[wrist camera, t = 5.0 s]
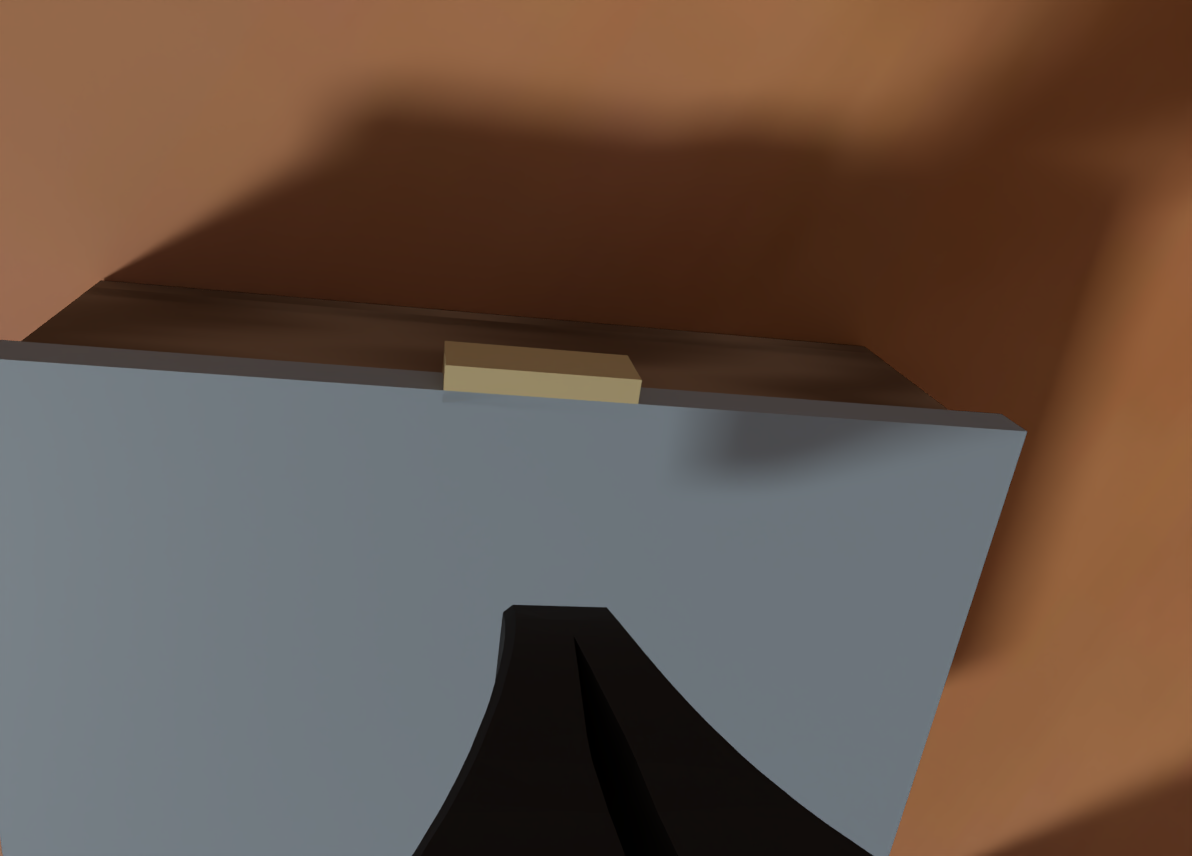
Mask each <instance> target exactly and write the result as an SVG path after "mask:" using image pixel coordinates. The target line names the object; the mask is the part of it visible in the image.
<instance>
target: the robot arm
mask: <svg viewBox="0 0 1192 856" xmlns="http://www.w3.org/2000/svg"><path fill="white" fill-rule="evenodd" d="M412 856H873V855H872V854H870V853H869V852H867V851H866V850H864V849H863V848H862V847H860V846H859V845H857V844H856V843H854V842H853V841H851V840H850V839H848V838H847V837H845V836H844V835H843V834H841V833H840V832H838V831H837V830H835V829H834V828H832V827H831V826H829V825H828V824H826V823H825V822H824V821H822V820H821V819H820V818H818V817H817V816H816V815H814V814H813V813H812V812H810V811H809V810H808V809H806V808H805V807H804V806H802V805H801V804H800V803H798V802H797V801H796V800H795V799H793V798H792V797H791V796H790V795H789V794H787V793H786V792H785V791H784V790H782V789H781V788H780V787H779V786H777V785H776V784H775V783H774V782H773V781H771V780H770V779H769V778H768V777H766V776H765V775H764V774H763V773H761V772H760V771H759V770H758V769H757V768H756V767H755V766H753V765H752V764H751V763H750V762H749V761H748V760H747V759H745V758H744V757H743V756H742V755H741V754H740V753H739V752H738V751H737V750H736V749H735V748H734V747H733V746H732V745H731V744H729V743H728V742H727V741H726V740H725V739H724V738H723V737H722V736H721V735H720V734H719V733H718V732H717V731H716V730H715V729H714V728H713V727H712V726H711V725H710V724H709V723H708V722H707V721H706V720H705V719H704V718H703V717H702V716H701V715H700V714H699V713H698V712H697V711H696V710H695V709H694V708H693V707H692V706H691V705H690V704H689V703H688V701H687V700H686V699H685V698H684V697H683V696H682V695H681V694H680V693H679V692H678V690H677V689H676V688H675V687H674V686H673V685H672V684H671V683H670V682H669V681H668V679H667V678H666V677H665V676H664V675H663V674H662V673H661V671H660V670H659V669H658V668H657V667H656V666H655V664H654V663H653V662H652V661H651V660H650V658H649V657H648V656H647V655H646V654H645V652H644V651H643V650H642V649H641V648H640V646H639V645H638V644H637V643H636V642H635V640H634V639H633V638H632V637H631V636H630V634H629V633H628V632H627V631H626V630H625V628H624V627H623V626H622V625H621V624H620V622H619V621H618V620H617V619H616V618H615V616H614V615H613V614H612V613H611V612H610V611H609V609H608V608H607V607H577V606H542V605H512V606H510V607H509V608H508V609H506V610H505V611H504V612H503V616H502V625H501V633H500V642H499V651H498V660H497V669H496V678H495V684H494V687H493V691H492V694H491V697H490V701H489V704H488V706H487V709H486V712H485V714H484V717H483V719H482V722H481V724H480V727H479V729H478V732H477V734H476V737H475V739H474V741H473V744H472V746H471V749H470V751H469V753H468V756H467V758H466V760H465V762H464V764H463V766H462V768H461V770H460V773H459V775H458V777H457V779H456V781H455V783H454V784H453V786H452V788H451V790H450V792H449V794H448V796H447V798H446V799H445V801H444V803H443V805H442V807H441V809H440V810H439V812H438V814H437V815H436V817H435V819H434V820H433V822H432V824H431V825H430V827H429V829H428V830H427V832H426V834H425V835H424V837H423V839H422V840H421V842H420V844H419V845H418V847H417V848H416V850H415V852H414V853H413V855H412Z"/></svg>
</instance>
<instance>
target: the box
mask: <svg viewBox="0 0 1192 856" xmlns="http://www.w3.org/2000/svg"><path fill="white" fill-rule="evenodd" d="M445 341H454V342H467V343H479V344H491V345H504V346H516V347H529V348H541V349H554V350H566V351H578V352H591V353H603V354H616V355H628V357H629V359H630V360H631V362H632V364H633V366H634V367H635V369H636V371H637V372H638V374H639V376H640V377H641V379H642V383H641V387H644V388H657V389H671V390H684V391H698V392H711V393H725V394H738V395H752V396H765V397H779V398H792V399H806V400H819V401H833V402H846V403H860V404H873V405H887V406H900V407H914V408H927V409H941V410H948V409H947V408H945V407H944V406H943V405H941V404H940V403H939V402H937V401H936V400H935V399H933V398H932V397H931V396H929V395H928V394H927V393H925V392H924V391H923V390H921V389H920V388H919V387H917V386H916V385H915V384H913V383H912V382H911V381H909V380H908V379H907V378H905V377H904V376H903V375H901V374H900V373H899V372H897V371H896V370H895V369H894V368H892V367H891V366H890V365H888V364H887V363H886V362H884V361H883V360H882V359H880V358H879V357H878V356H876V355H875V354H874V353H872V352H871V351H870V350H868V349H867V348H866V347H863V346H852V345H840V344H829V343H817V342H806V341H794V340H783V339H771V338H760V337H748V336H737V335H725V334H713V333H702V332H690V331H679V330H667V329H656V328H644V327H633V326H621V325H610V324H598V323H587V322H575V321H563V320H552V319H540V318H529V317H517V316H506V315H494V314H483V313H471V312H460V311H448V310H436V309H425V308H413V307H402V306H390V305H379V304H367V303H356V302H344V301H333V300H321V299H310V298H298V297H286V296H275V295H263V294H252V293H240V292H229V291H217V290H206V289H194V288H183V287H171V286H160V285H148V284H136V283H125V282H113V281H102V280H101V281H99V282H98V283H97V284H95V285H94V286H93V287H92V288H90V289H89V290H88V291H86V292H85V293H84V294H82V295H81V296H80V297H78V298H77V299H76V300H75V301H73V302H72V303H71V304H69V305H68V306H67V307H65V308H64V309H63V310H61V311H60V312H59V313H58V314H56V315H55V316H54V317H52V318H51V319H50V320H48V321H47V322H46V323H44V324H43V325H42V326H40V327H39V328H38V329H37V330H35V331H34V332H33V333H31V334H30V335H29V336H27V337H26V338H25V339H23V340H22V342H35V343H49V344H62V345H76V346H89V347H103V348H116V349H130V350H143V351H157V352H170V353H184V354H197V355H211V356H224V357H238V358H251V359H265V360H279V361H292V362H306V363H319V364H333V365H346V366H360V367H373V368H387V369H400V370H414V371H427V372H441V373H442V370H443V357H444V344H445Z"/></svg>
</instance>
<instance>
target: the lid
mask: <svg viewBox="0 0 1192 856" xmlns="http://www.w3.org/2000/svg"><path fill="white" fill-rule="evenodd" d="M641 383H642V379H641V377H640V376H639V374H638V372H637V371H636V369H635V367H634V366H633V364H632V362H631V360H630V359H629V357H628V355H616V354H603V353H591V352H578V351H566V350H554V349H541V348H529V347H516V346H504V345H491V344H479V343H467V342H454V341H445V344H444V357H443V370H442V373H441V372H427V371H414V370H400V369H387V368H373V367H360V366H346V365H333V364H319V363H306V362H292V361H279V360H265V359H251V358H238V357H224V356H211V355H197V354H184V353H170V352H157V351H143V350H130V349H116V348H103V347H89V346H76V345H62V344H49V343H35V342H22V341H8V340H0V838H1V846H2V853H3V856H412V855H413V853H414V852H415V850H416V848H417V847H418V845H419V844H420V842H421V840H422V839H423V837H424V835H425V834H426V832H427V830H428V829H429V827H430V825H431V824H432V822H433V820H434V819H435V817H436V815H437V814H438V812H439V810H440V809H441V807H442V805H443V803H444V801H445V799H446V798H447V796H448V794H449V792H450V790H451V788H452V786H453V784H454V783H455V781H456V779H457V777H458V775H459V773H460V770H461V768H462V766H463V764H464V762H465V760H466V758H467V756H468V753H469V751H470V749H471V746H472V744H473V741H474V739H475V737H476V734H477V732H478V729H479V727H480V724H481V722H482V719H483V717H484V714H485V712H486V709H487V706H488V704H489V701H490V697H491V694H492V691H493V687H494V684H495V678H496V669H497V660H498V651H499V642H500V633H501V625H502V616H503V612H504V611H505V610H506V609H508V608H509V607H510V606H512V605H542V606H577V607H607V608H608V609H609V611H610V612H611V613H612V614H613V615H614V616H615V618H616V619H617V620H618V621H619V622H620V624H621V625H622V626H623V627H624V628H625V630H626V631H627V632H628V633H629V634H630V636H631V637H632V638H633V639H634V640H635V642H636V643H637V644H638V645H639V646H640V648H641V649H642V650H643V651H644V652H645V654H646V655H647V656H648V657H649V658H650V660H651V661H652V662H653V663H654V664H655V666H656V667H657V668H658V669H659V670H660V671H661V673H662V674H663V675H664V676H665V677H666V678H667V679H668V681H669V682H670V683H671V684H672V685H673V686H674V687H675V688H676V689H677V690H678V692H679V693H680V694H681V695H682V696H683V697H684V698H685V699H686V700H687V701H688V703H689V704H690V705H691V706H692V707H693V708H694V709H695V710H696V711H697V712H698V713H699V714H700V715H701V716H702V717H703V718H704V719H705V720H706V721H707V722H708V723H709V724H710V725H711V726H712V727H713V728H714V729H715V730H716V731H717V732H718V733H719V734H720V735H721V736H722V737H723V738H724V739H725V740H726V741H727V742H728V743H729V744H731V745H732V746H733V747H734V748H735V749H736V750H737V751H738V752H739V753H740V754H741V755H742V756H743V757H744V758H745V759H747V760H748V761H749V762H750V763H751V764H752V765H753V766H755V767H756V768H757V769H758V770H759V771H760V772H761V773H763V774H764V775H765V776H766V777H768V778H769V779H770V780H771V781H773V782H774V783H775V784H776V785H777V786H779V787H780V788H781V789H782V790H784V791H785V792H786V793H787V794H789V795H790V796H791V797H792V798H793V799H795V800H796V801H797V802H798V803H800V804H801V805H802V806H804V807H805V808H806V809H808V810H809V811H810V812H812V813H813V814H814V815H816V816H817V817H818V818H820V819H821V820H822V821H824V822H825V823H826V824H828V825H829V826H831V827H832V828H834V829H835V830H837V831H838V832H840V833H841V834H843V835H844V836H845V837H847V838H848V839H850V840H851V841H853V842H854V843H856V844H857V845H859V846H860V847H862V848H863V849H864V850H866V851H867V852H869V853H870V854H872V855H873V856H889V854H890V851H891V847H892V844H893V841H894V838H895V835H896V832H897V829H898V826H899V823H900V820H901V817H902V814H903V811H904V808H905V805H906V801H907V798H908V795H909V792H910V789H911V786H912V783H913V780H914V777H915V774H916V771H917V768H918V765H919V762H920V759H921V756H922V752H923V749H924V746H925V743H926V740H927V737H928V734H929V731H930V728H931V725H932V722H933V719H934V716H935V713H936V710H937V706H938V703H939V700H940V697H941V694H942V691H943V688H944V685H945V682H946V679H947V676H948V673H949V670H950V667H951V664H952V661H953V657H954V654H955V651H956V648H957V645H958V642H959V639H960V636H961V633H962V630H963V627H964V624H965V621H966V618H967V615H968V611H969V608H970V605H971V602H972V599H973V596H974V593H975V590H976V587H977V584H978V581H979V578H980V575H981V572H982V569H983V566H984V562H985V559H986V556H987V553H988V550H989V547H990V544H991V541H992V538H993V535H994V532H995V529H996V526H997V523H998V520H999V516H1000V513H1001V510H1002V507H1003V504H1004V501H1005V498H1006V495H1007V492H1008V489H1009V486H1010V483H1011V480H1012V477H1013V474H1014V471H1015V467H1016V464H1017V461H1018V458H1019V455H1020V452H1021V449H1022V446H1023V443H1024V440H1025V437H1026V434H1027V431H1026V430H1024V429H1023V428H1021V427H1020V426H1018V425H1017V424H1015V423H1014V422H1013V421H1011V420H1010V419H1008V418H1007V417H1005V416H1004V415H1002V414H995V413H981V412H968V411H954V410H941V409H927V408H914V407H900V406H887V405H873V404H860V403H846V402H833V401H819V400H806V399H792V398H779V397H765V396H752V395H738V394H725V393H711V392H698V391H684V390H671V389H657V388H644V387H641Z"/></svg>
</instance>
